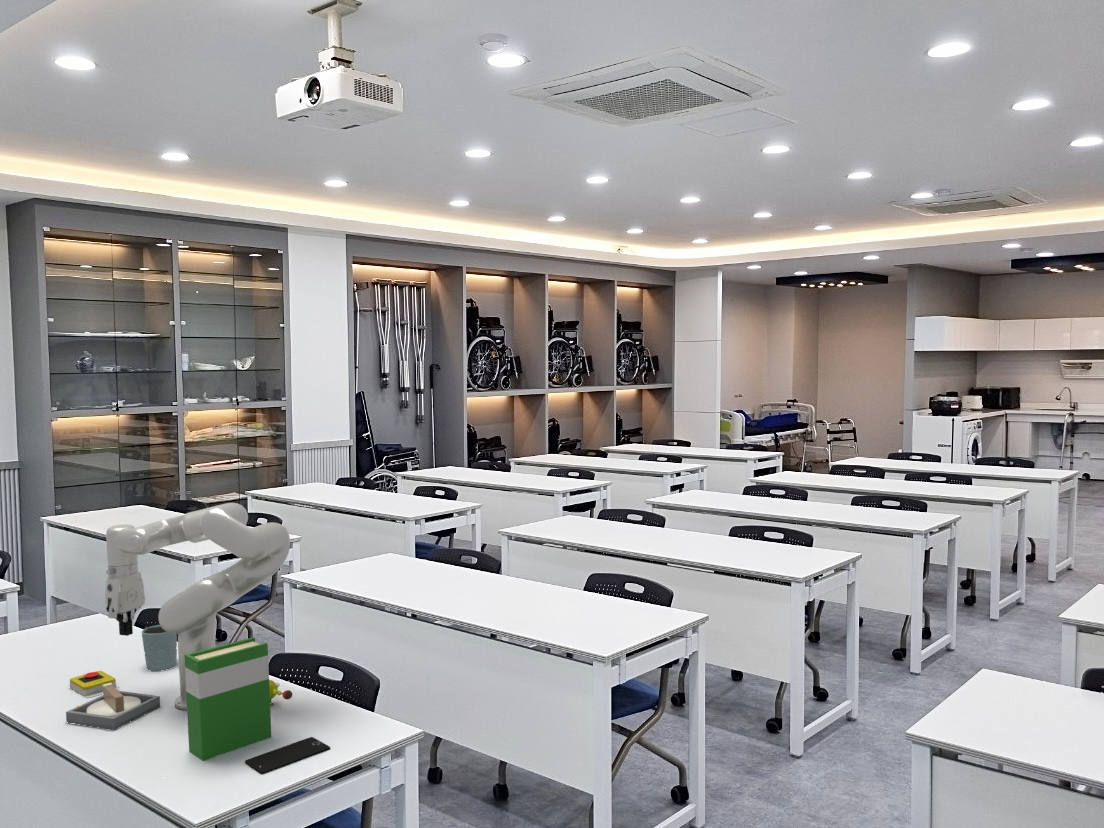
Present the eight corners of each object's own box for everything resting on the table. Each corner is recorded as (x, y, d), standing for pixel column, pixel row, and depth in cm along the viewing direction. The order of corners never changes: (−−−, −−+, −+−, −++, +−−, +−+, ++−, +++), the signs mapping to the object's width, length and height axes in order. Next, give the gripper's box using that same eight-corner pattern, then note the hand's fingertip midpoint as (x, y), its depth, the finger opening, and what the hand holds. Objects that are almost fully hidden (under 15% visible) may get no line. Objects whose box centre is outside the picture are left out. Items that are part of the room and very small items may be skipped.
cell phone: (331, 750, 217) (331, 746, 217) (261, 776, 204) (261, 772, 204) (312, 739, 223) (312, 736, 223) (243, 764, 210) (243, 760, 210)
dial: (147, 710, 240) (145, 690, 239) (94, 724, 231) (92, 703, 231) (132, 697, 250) (131, 677, 249) (81, 710, 241) (80, 689, 241)
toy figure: (299, 707, 243) (299, 682, 243) (284, 714, 239) (283, 689, 238) (254, 695, 252) (253, 671, 252) (238, 702, 248) (237, 678, 247)
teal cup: (162, 673, 272) (160, 635, 271) (135, 670, 275) (133, 632, 274) (186, 662, 281) (184, 625, 280) (160, 659, 284) (158, 622, 284)
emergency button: (98, 664, 269) (120, 676, 259) (99, 679, 269) (121, 690, 260) (65, 673, 262) (86, 685, 252) (66, 688, 263) (87, 700, 253)
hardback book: (257, 729, 229) (253, 637, 228) (271, 737, 224) (267, 643, 223) (189, 751, 217) (184, 654, 215) (202, 761, 212) (197, 661, 210)
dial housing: (160, 706, 245) (159, 695, 245) (113, 730, 230) (113, 718, 230) (114, 700, 251) (114, 689, 251) (66, 723, 236) (65, 711, 236)
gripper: (112, 577, 241) (115, 644, 242) (153, 564, 255) (156, 627, 256) (90, 575, 243) (93, 641, 245) (133, 562, 257) (136, 625, 259)
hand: (126, 634), depth 250 cm, fingers closed
